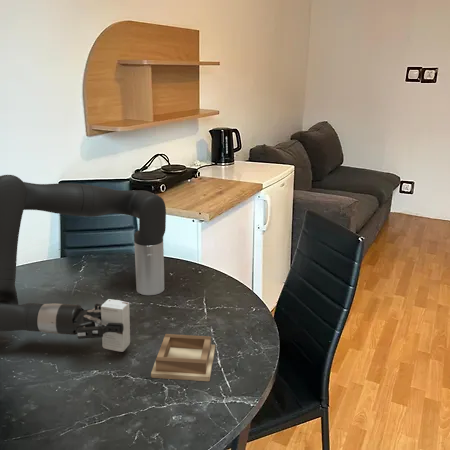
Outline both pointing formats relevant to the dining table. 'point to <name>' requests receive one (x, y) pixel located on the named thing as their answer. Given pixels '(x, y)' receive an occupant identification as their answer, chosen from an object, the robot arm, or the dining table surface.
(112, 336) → the skincare box
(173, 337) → the socket board
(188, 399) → the dining table surface
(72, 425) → the dining table surface
